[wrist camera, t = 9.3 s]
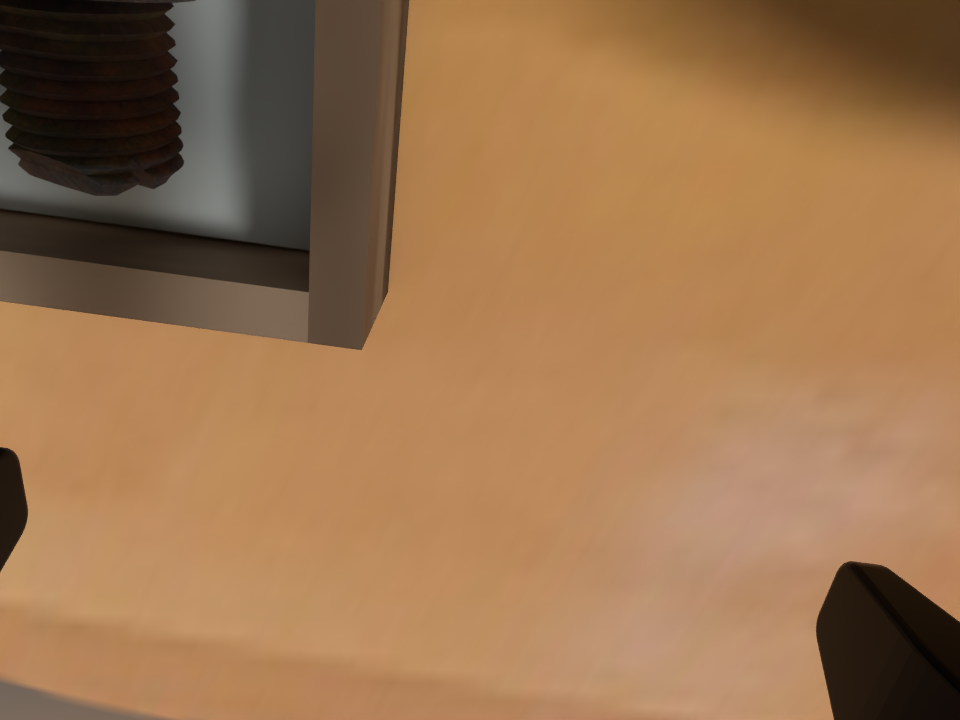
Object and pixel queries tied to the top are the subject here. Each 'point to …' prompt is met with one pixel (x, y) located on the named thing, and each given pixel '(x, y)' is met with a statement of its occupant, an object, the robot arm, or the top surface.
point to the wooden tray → (238, 183)
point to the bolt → (91, 92)
